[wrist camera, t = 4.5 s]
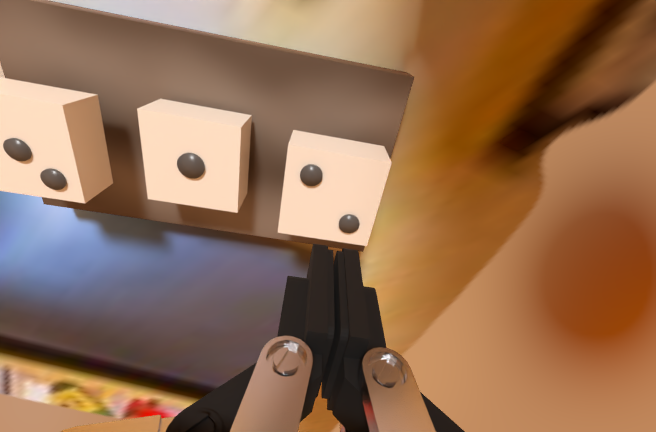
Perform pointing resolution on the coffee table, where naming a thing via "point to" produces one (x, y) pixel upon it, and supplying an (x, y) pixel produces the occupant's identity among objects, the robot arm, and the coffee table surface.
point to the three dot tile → (51, 142)
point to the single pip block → (195, 154)
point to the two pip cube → (332, 187)
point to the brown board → (198, 100)
